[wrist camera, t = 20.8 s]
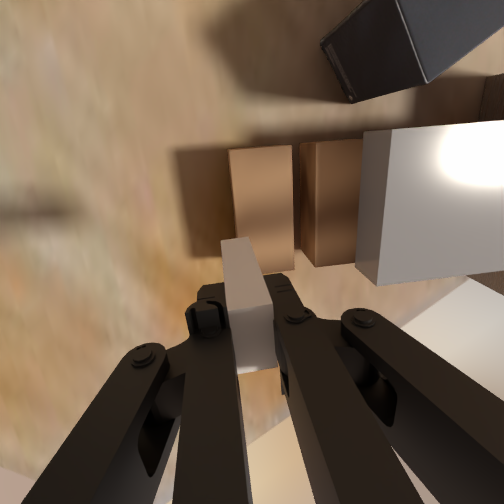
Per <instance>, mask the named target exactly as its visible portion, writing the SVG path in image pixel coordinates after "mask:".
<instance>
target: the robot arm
mask: <svg viewBox="0 0 504 504" xmlns="http://www.w3.org/2000/svg"><path fill="white" fill-rule="evenodd" d="M221 251H222V262H223V273H224V282H222V283H216V284H209V285H203V286H202V287H201V288H200V290H199V291H198V293H197V302H195V303H193V304H192V305H190V306H189V307H188V308H187V310H186V312H185V317H186V321H187V325H188V330H189V334H190V336H189V338H188V339H187V340H186V341H184V342H183V343H181V344H179V345H177V346H175V347H172V348H170V349H167V350H165V347H164V346H163V345H161V344H159V343H146V344H142V345H140V346H137V347H135V348H134V349H132V350H130V351H129V352H128V353H127V354H126V355H125V356H124V357H123V358H122V360H121V361H120V362H119V364H118V365H117V367H116V368H115V370H114V371H113V372H112V374H111V375H110V377H109V378H108V380H107V381H106V382H105V384H104V385H103V387H102V388H101V390H100V391H99V392H98V394H97V395H96V397H95V398H94V400H93V401H92V402H91V404H90V405H89V407H88V408H87V410H86V411H85V413H84V414H83V415H82V417H81V418H80V420H79V421H78V423H77V424H76V425H75V427H74V428H73V430H72V431H71V433H70V434H69V435H68V437H67V438H66V440H65V441H64V443H63V444H62V445H61V447H60V448H59V450H58V451H57V453H56V454H55V455H54V457H53V458H52V460H51V461H50V463H49V464H48V465H47V467H46V468H45V470H44V471H43V473H42V474H41V475H40V477H39V478H38V480H37V481H36V483H35V484H34V486H33V487H32V488H31V490H30V491H29V493H28V494H27V495H26V497H25V498H24V500H23V501H22V503H21V504H153V501H154V499H155V496H156V493H157V490H158V487H159V484H160V481H161V478H162V476H163V473H164V470H165V467H166V464H167V461H168V458H169V455H170V453H171V450H172V447H173V444H174V441H175V438H176V435H177V432H178V430H179V427H180V433H179V442H178V452H177V462H176V471H175V481H174V491H173V500H172V504H253V501H252V492H251V483H250V475H249V466H248V457H247V449H246V440H245V431H244V423H243V414H242V406H241V397H240V388H239V381H238V375H237V374H241V373H247V372H252V371H258V370H264V369H269V368H275V367H278V363H279V366H280V377H281V391H282V395H284V394H285V396H286V400H287V403H288V407H289V410H290V414H291V418H292V421H293V425H294V428H295V432H296V435H297V438H298V442H299V446H300V449H301V453H302V457H303V460H304V464H305V467H306V471H307V474H308V478H309V481H310V485H311V488H312V492H313V495H314V499H315V503H316V504H424V503H423V501H422V499H421V497H420V495H419V494H418V492H417V490H416V489H415V487H414V485H413V483H412V482H411V480H410V478H409V476H408V475H407V473H406V471H405V469H404V468H403V466H402V464H401V463H400V461H399V459H398V457H397V456H396V454H395V452H394V451H393V449H394V450H395V451H396V452H397V453H398V455H399V456H400V457H401V458H402V459H403V460H404V462H405V463H406V464H407V465H408V466H409V468H410V469H411V470H412V471H413V472H414V474H415V475H416V476H417V477H418V478H419V479H420V481H421V482H422V483H423V484H424V485H425V487H426V488H427V489H428V490H429V491H430V492H431V494H432V495H433V496H434V497H435V498H436V500H437V501H438V502H439V503H440V504H504V401H503V400H501V399H500V398H498V397H497V396H495V395H494V394H493V393H491V392H490V391H488V390H487V389H485V388H484V387H482V386H481V385H480V384H478V383H477V382H475V381H474V380H472V379H471V378H470V377H468V376H467V375H465V374H464V373H463V372H461V371H460V370H458V369H457V368H456V367H454V366H453V365H451V364H450V363H448V362H447V361H446V360H444V359H443V358H441V357H440V356H438V355H437V354H436V353H434V352H432V351H431V350H430V349H428V348H427V347H426V346H424V345H423V344H421V343H420V342H418V341H417V340H416V339H414V338H413V337H411V336H410V335H408V334H407V333H406V332H404V331H403V330H401V329H400V328H398V327H397V326H396V325H394V324H393V323H391V322H390V321H388V320H387V319H386V318H384V317H383V316H381V315H380V314H378V313H376V312H374V311H372V310H368V309H365V308H354V309H349V310H347V311H345V312H344V313H343V314H342V316H341V320H327V319H321V318H317V317H316V315H315V313H314V312H313V311H312V310H310V309H308V308H306V307H304V306H303V304H302V302H301V300H300V298H299V296H298V295H297V293H296V291H295V290H294V287H293V285H292V283H291V282H290V280H289V278H288V277H287V276H285V275H283V274H282V273H277V274H271V275H264V276H263V275H262V273H261V270H260V267H259V264H258V262H257V259H256V256H255V254H254V251H253V248H252V245H251V243H250V240H249V237H242V238H235V239H227V240H221ZM277 360H278V363H277ZM391 446H392V447H393V449H392V447H391Z"/></svg>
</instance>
